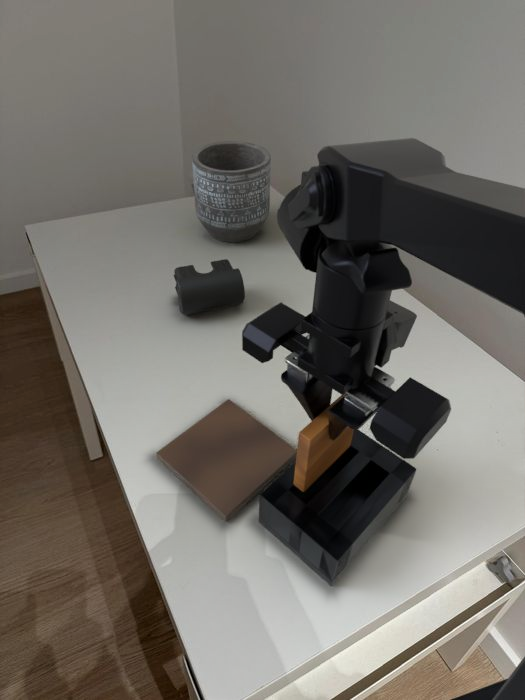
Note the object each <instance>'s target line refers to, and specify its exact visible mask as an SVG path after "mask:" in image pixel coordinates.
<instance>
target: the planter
mask: <svg viewBox="0 0 525 700" xmlns="http://www.w3.org/2000/svg"><path fill="white" fill-rule="evenodd" d="M271 160H272V159H271V154H270V152H269V151H268V150H267V148H265V147H263V146H262V145H259V144H255V143H251V142H247V141H241V140H240V141H239V140H222V141H215V142H214V141H213V142H209V143H207V144H203V145H201V146H200V147H198V148H196V149H195V150H194V151H193V153H192V155H191V164H192V180H193V181H192V182H193V192H194V207H195V215H196V218H197V220H199V222H200V223H201V225H202V227H203V228H204V229H205V230H206V232H207V233H208V234H209V235H210V236H211V237H212V238H213V239H215V240H218V241H220V242H224V243H242V242H246V241H248V240H250V239H252V238H254V237H256V235H257V233H259V231H260V229H262V227H263V226H264V224H265V222H266V221H267V220H268V217H269V215H270V207H271V197H270V196H271V194H270V192H271Z"/></svg>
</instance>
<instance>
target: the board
mask: <svg viewBox="0 0 525 700" xmlns="http://www.w3.org/2000/svg"><path fill="white" fill-rule="evenodd" d="M155 454H156V459H157V460H158V461H159V462H160V463H161V464H162V465H163V466H164V467H166V468H167V469H168V470H169V471H170V472H171V473H172V475H174V476H175V477H176V478H177V479H178V480H179V481H180V482H181V483H183V484H184V485H185V486H186V487H187V488H188V489H189V490H190V491H191V492H193V494H195V495H196V497H198V498H199V499H200V500H201V501H202V502H203V503H204V504H205V505H206V506H208V507H209V508H210V510H212V511H213V512H214V513H215V514H216V515H217V516H218V517H219V518H221V519H222V520H223V521H224V522H225V523H228V521H229V520H231V518H233V517H234V516H235V515H236V514H237V513H238V512H239V511H240V510H241V509H243V507H244V506H245V505H247V504H248V503H249V502H250V501H251V500H252V499H253V498H254V497H256V495H257V494H259V493H260V492H261V491H262V490H263V489H264V488H265V487H266V486H267V485H268V484H269V483H271V482H273V481H274V479H275V478H277V476H279V474H280V473H282V472H283V471H285V470H286V469H287V467H288V466H289V465H290V464H292V462H294V460H296V455H297V448H295V447H294V446H292V445H291V444H289V443H288V442H287V441H285V440H284V439H283V438H281V437H280V436H279V435H278V434H277V433H275V432H274V431H272V430H271V429H269V428H268V427H267V426H265V425H264V424H263V423H261V422H260V421H258V420H257V419H256V418H255V417H254V416H252V415H250V414H249V413H248V412H247V411H246V410H244V409H243V408H242V407H240V406H239V405H237V404H236V403H234V402H233V401H232V400H231V399H226V400H225V401H223V402H222V403H221V404H220V405H219V406H217V407H216V408H214V409H213V410H212V411H210V412H209V413H208V414H206V415H205V416H204V417H202V418H201V419H199V420H198V421H196V422H195V423H194V424H193V425H191V426H190V427H189V428H187V429H186V430H184V431H183V432H182V433H181V434H179V435H178V436H177V437H175V438H174V439H173V440H171V441H170V442H169V443H167V444H165V446H163V447H162V448H160V449H159V450H158V451H156V452H155Z"/></svg>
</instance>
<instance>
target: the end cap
mask: <svg viewBox="0 0 525 700" xmlns="http://www.w3.org/2000/svg"><path fill="white" fill-rule="evenodd" d="M229 260H230V259H227V258H225V259H219V260H213V261H210V266H211V267H212V270H211V271H209V272H199V271H197V270H196V268H195V266H194V264H188V265H184V266H178V267H176V268H175V269H174V274H173V278H174V281H175V283H176V284H175V287H174V290H175V291H176V294H177V301H178V308H179V309H178V310H179V312H180V314H181V315H184V316H187V315H192V314H197V313H202V312H208V311H212V310H218V309H223V308H227V307H234V306H237V305H240V304H243V303H244V302H245V297H246V293H245V291H246V290H245V283H244V278H243V275H242V272H241V270H240V268H233V266H232V263H231V262H230V261H229Z"/></svg>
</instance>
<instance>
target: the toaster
mask: <svg viewBox="0 0 525 700" xmlns="http://www.w3.org/2000/svg"><path fill="white" fill-rule="evenodd" d="M295 465H296V460H295V461H293V463H291V465H290V466H289V467H288V468H286V469H285V470H284V471H283V472H281V474H280V475H278V477H276V479H275V480H273V481H272V483H270V484H269V485H268V486H267V487H266V488H265V489H264V490H263V491H262V492H261V493H259V496H258V497H259V501H258V523H259V524H260V525H261V526H262V527H263V528H264V529H266V530H267V531H268V532H269V533H271V534H272V535H273V536H274V537H275V538H276V539H277V540H278V541H279V542H280V543H281V544H283V545H284V546H285V547H286V548H287V549H289V550H290V552H292V553H293V554H294V555H295V556H297V558H298V559H300V560H301V562H303V563H304V564H305V565H306V566H308V567H309V568H310V569H311V570H312V571H313V572H314V573H315V574H317V575H318V576H319V577H320V578H321V579H322V580H324V582H326V584H328V585H329V586H330V587H333V585H334V584H335V582H336V581H337V580H338V579H339V578H340V577H341V575H342V574H343V573H344V572H345V571H346V569H348V567H350V565H351V564H352V563H353V562H354V560H355V559H356V557H358V555H359V554H360V553H361V552H362V550H363V549H364V548H365V547H366V545H367V544H368V543H369V542H370V541H371V539H372V538H373V537H374V536H375V535H376V534H377V532H378V531H379V530H380V529H381V528H382V527H383V525H384V524H385V523H386V521H388V519H389V518H390V517H391V515H392V514H394V512H395V511H396V510H397V508H398V507H399V506H400V505H401V504H402V502H403V501H404V500H405V499H406V498H407V496H408V493H409V490H410V489H411V485H412V482H413V481H414V477H415V475H416V472H417V470H418V469H417V467H415V466H413V465H412V464H411V463H409V462H407V461H406V460H405V459H404V458H402V457H401V456H399V455H398V454H396V453H395V452H393V451H392V450H390V449H389V448H387V447H386V446H384V445H383V444H381V443H380V442H378V441H377V440H374V439H373V438H371V437H370V436H369V435H367V434H366V433H364V432H363V431H361V430H359V429H354V431H353V436H352V440H351V445H350V447H349V448H348V449H347V450H346V451H345V452H344V453H343V454H342V455H341V456H340V457H339V458H338V459H337V460H336V461H335V462H334V463H333V464H332V465H331V466H330V467H329V468H328V469H327V470H326V471H325V472H324V473H323V474H322V475H321V476H320V477H319V478H318V479H317V480H316V481H315V482H314V483H313V484H312V485H311V486H310V487H309V488H308V489H307V490H306V491H304V492H302V491H301V490H300V489H299V488H297V487H296V486H295V485H294V484H293V483H294V474H295Z"/></svg>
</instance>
